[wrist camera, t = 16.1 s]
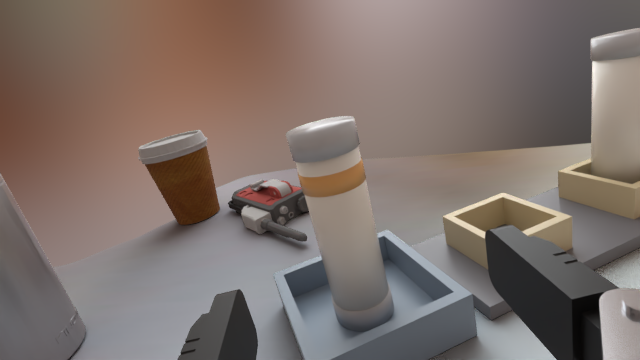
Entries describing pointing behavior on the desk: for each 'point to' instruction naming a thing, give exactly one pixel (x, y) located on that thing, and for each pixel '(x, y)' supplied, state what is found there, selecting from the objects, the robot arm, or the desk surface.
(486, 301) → the fuse block
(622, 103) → the cylinder
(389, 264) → the tray
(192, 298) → the desk surface
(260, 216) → the walkie-talkie
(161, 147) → the disposable coffee cup
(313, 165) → the cylinder
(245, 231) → the desk surface
